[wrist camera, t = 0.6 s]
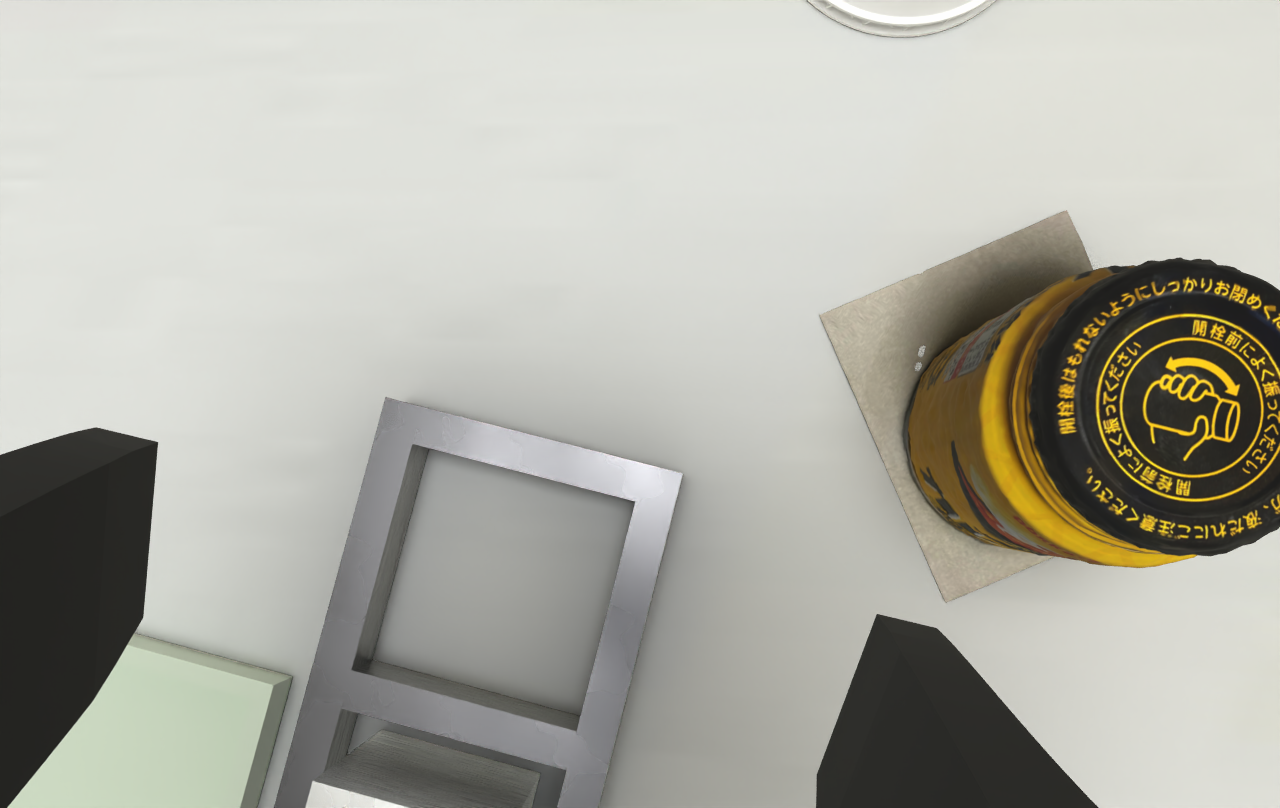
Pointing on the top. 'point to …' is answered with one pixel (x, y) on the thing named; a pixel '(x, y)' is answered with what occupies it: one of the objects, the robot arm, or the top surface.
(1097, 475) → the condiment
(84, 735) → the parts tray
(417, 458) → the rack frame
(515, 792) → the grey box
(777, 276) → the top surface
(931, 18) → the vase
